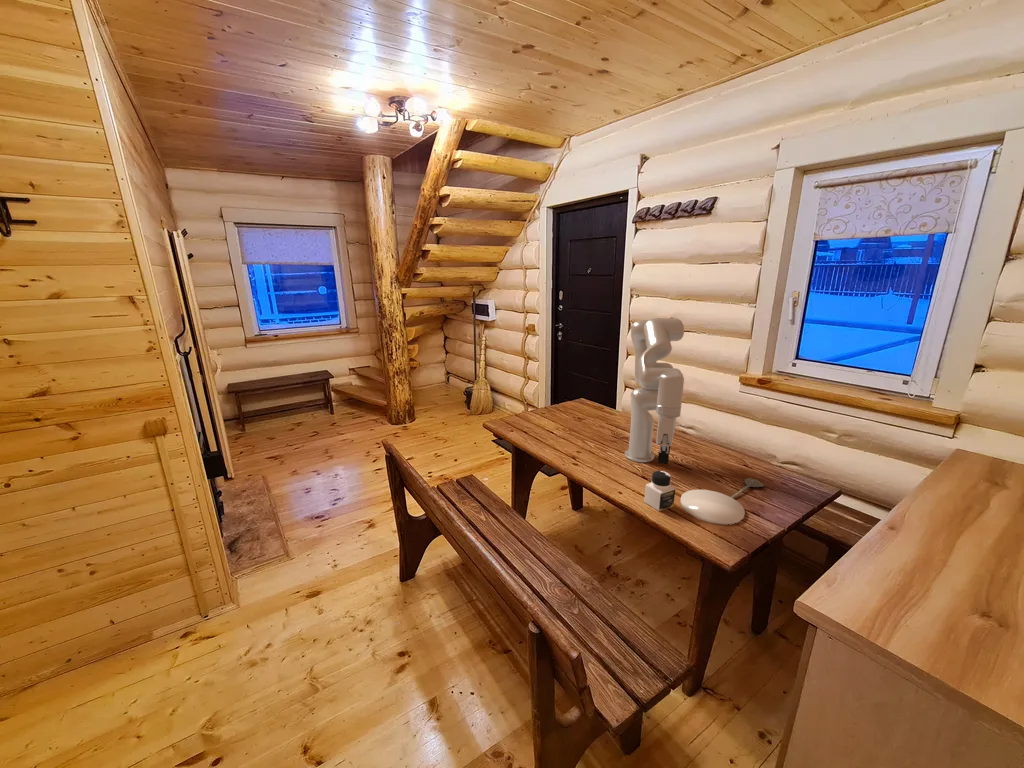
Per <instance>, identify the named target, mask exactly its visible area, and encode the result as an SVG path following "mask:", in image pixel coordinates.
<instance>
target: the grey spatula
mask: <svg viewBox="0 0 1024 768" xmlns="http://www.w3.org/2000/svg"><path fill="white" fill-rule="evenodd" d="M744 483H745V484H746V485H745V486H744V487H743V488H741V489H740V490H739V491H737V492H736V493H735V494H732V495H731V496H730V497H731V498H733V499H735V498H736V497H737V496H738V495H739V494H741V493H743V492H744V491H745V490H747V489H748V488H751V487H752V488H761V487H765V485H764V484H763V483H762V482H761V481H759V480H758V479H755V478H745V479H744Z"/></svg>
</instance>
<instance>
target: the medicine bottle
mask: <svg viewBox="0 0 1024 768" xmlns="http://www.w3.org/2000/svg"><path fill="white" fill-rule="evenodd" d="M651 475H652V477H651V482H649V483H646V484H645V489H644V499H643V501H644V503H645V504H647V505H649V506H650V507H651V508H653V509H655V510H656V511H658V512H661V511H664V510H667V509H669V508H673V507H675V506H674V503H675V497H676V496H675V495H676V488H675V487H674V486H672V485H671V479H672V476H671V474H670V473H668V472H666V471H665V470H655V471H653V472H652V474H651Z"/></svg>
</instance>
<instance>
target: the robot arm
mask: <svg viewBox="0 0 1024 768" xmlns="http://www.w3.org/2000/svg"><path fill="white" fill-rule="evenodd" d="M684 335H685V326H684V323H683V321H682V320H681V319H679V318H673V317H672V318H670V317H669V318H668V317H667V318H666V317H665V318H659V317H658V318H655V317H654V318H651V319H649V320H648V319H647V320H644V319H643V320H638V321H634V322H633V324H632V325H631V328H630V338H631V342H632V344H633V348H634V355H635V357H634V358H635V359H634V380H635V382H636V383H637V384H639V385H640V387H637V388H635V389H633V390H632V391H631V392H630V407H631V408H630V410H631V413H630V429H629V442H628V449H626V450H625V451H624V456H625V457H626V459H628V460H629V461H632V462H637V463H651V462H652V461H654V460H655V454H654V453H653V452H652V447H653V446H652V445H653V438H654V437H653V435H654V427H655V426H654V424H655V420H654V417H653V415H652V414H651V413H650V411H655V412H656V413H655V414H656V415H657V416H658V421H657V428H656V439H655V444H656V446H657V445H659V451H658V455H657V464H661V465H667V466H668V464H669V458H670V456H669V455H670V452H671V446H672V443H673V440H674V437H675V429H676V422H677V418H679V417H680V418H681V411H682V402H683V394H684V386H685V385H684V384H685V378H684V373H682V371H681V370H680V369H679V368H675V367H674V366H673V365H672V364H671V363H668V362H658V361H660V360H663V359H665V358H666V357H668V356H669V355H670V354H671V352H672V349H673V347H672V343H671V342H678V341H680V340H682V339H683V338H684Z"/></svg>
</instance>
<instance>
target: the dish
mask: <svg viewBox="0 0 1024 768" xmlns="http://www.w3.org/2000/svg"><path fill="white" fill-rule="evenodd" d="M680 506H681V507H682V508H683V510H684V511H685V512H687V513H688V514H689V515H690V516H692V517H694V518H696V519H698V520H700V521H703V522H706V523H710V524H715V525H725V526H730V525H736V524H738V522H739V523H740V522H742V521H743V520H744V518H745V513H746V512H745V508H744V506H743V505H742V504H741V503H740V502H739V501H737V500H736V499H735V498H731V496H729V495H727V494H725V493H722V492H719V491H713V490H709V489H690V490H687V491H685V492H682V494H681V497H680ZM742 519H743V520H742ZM741 520H742V521H741ZM735 523H736V524H735ZM728 524H729V525H728Z"/></svg>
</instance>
